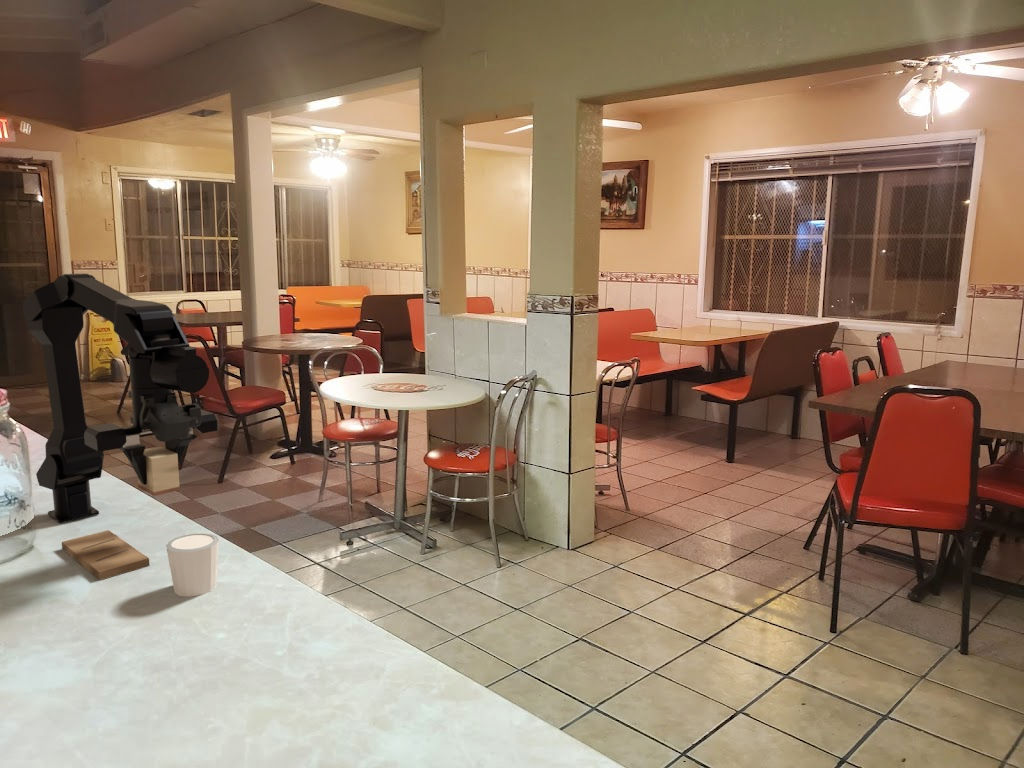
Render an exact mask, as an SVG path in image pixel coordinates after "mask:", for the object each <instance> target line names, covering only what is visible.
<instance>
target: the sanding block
mask: <svg viewBox="0 0 1024 768" xmlns="http://www.w3.org/2000/svg"><path fill="white" fill-rule="evenodd" d="M144 461H145V467H146V474H147V484H146V485H143V484H142V483H141V481H140V480H139V478H138V476H136V477H137V487H138V488H139V489H141V490H142V491H144V492H146V493H148V494H150V495H152V496H153V497H157V496H160V495H161V496H162V495H165V494H170V493H173V492H178V491H181V488H180V487H181V486H180V474H179V473H180V472H179V471H180V470H179V465H178V454H176V453H174V452H172V451H170V450H168V449H166V448H165V447H163V446H157V447H150V448H145V450H144Z"/></svg>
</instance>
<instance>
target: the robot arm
mask: <svg viewBox="0 0 1024 768" xmlns="http://www.w3.org/2000/svg"><path fill="white" fill-rule="evenodd" d="M88 311H89V312H90V311H91V312H93V313H94V314H96V315H98V316H100V317H101V318H103V319H105V320H107V321H109V322H111V324H113V325H112V326H113V332H114V333H115V334H117V335H118V336H119V338H121V339H122V340H124V341H125V343H127V344H126V345H125V346H124V347H123V348H121V350H120V354H121V355H122V356H128V364H129V377H130V380H129V381H130V390H128V391H127V392H128V398H129V399H131V403H132V404H131V405H132V415H131V416H130V417H129V418H130V423H131V424H132V425H131V426H125V427H121V426H119V425H117V424H115V423H112V422H110V423H103V424H96V425H92V426H91V425H90V426H88V424H87V420H86V419H87V418H86V413H85V406H84V398H83V397H84V396H83V392H82V383H81V376H80V368H79V360H78V359H79V358H78V354H77V347H76V345H77V344H76V343H77V341H78V338H79V337H80V334H81V332H82V331H83V329H84V323H85V322H84V315H85V314H86V313H87V312H88ZM22 313H23V317H24V318H25V320H26V324H27V328H28V331H29V332H30V334H32V336H33V337H35V339H36V340H37V342H39V343H40V344H41V347H42V353H43V361H44V366H45V367H44V368H45V377H46V381H47V388H48V397H49V402H50V410H51V416H52V423H53V424H52V425H53V428H52V431H51V433H50V435H49V437H48V439H47V441H46V442H45V458H44V460H43V462H42V464H41V465H40V466H39V468H38V470H37V472H36V474H35V475H36V479H37V483H38V485H39V486H40V487H43V488H46V489H49V490H51V491H52V499H53V500H52V501H53V510H49V511H47V515H48V516H49V517H50V518H52V519H53V520H55V521H56V522H58V523H59V524H63V523H67V522H71V521H74V520H75V521H76V520H79V519H83V518H84V519H85V518H87V517H92V516H97V515H100V511H99V510H97V509H96V508H95V507H93V506H92V499H91V489H90V481H91V480H94V479H99V478H102V474H103V473H102V472H103V464H104V458H105V454H104V452H105V451H112V450H117V449H118V450H120V451H121V452H123V454H124V455H125V456H126V458H127V459H128V461H129V463H130V465H131V467H132V469H133V471H134V472H135V474H136V475H137V476H138V478H139V480H140V481H141V483H142V484H143V485H146V484H147V474H146V467H145V461H144V450H145V449H146V445H144V444H143V443H141V438H144V437H148V436H155V439H156V440H157V441H158V442H162V443H164V444H165V445H164V446H165V447H164V448H165V449H168V450H170V451H172V452H174V453H176V454H178V466H179V465H180V463H181V462H180V461H181V459H182V456H183V453H184V451H185V449H186V447H187V446H188V444H189V443H191V442H192V441H194V440H196V439H197V437H198V435H196V434H194V429H195V430H196V431H198V432H199V433H201V434H206V433H212V432H218V431H219V430H220V422H219V421H220V420H219V419H218V418H219V417H218V416H217V415H216V414H215V413H214V412H210V411H208V410H205V409H202V408H201V406H200V405H199V404H198V402H195V403H189V404H185V405H179V403H178V400H177V399H178V398H177V395H176V392H182V393H188V394H196V393H198V392H200V391H201V390H203V389H204V387H205V386H206V385H207V383H208V381H209V377H210V368H209V367H208V365H207V362H206V361H205V359H203V357H202V356H199V355H198V354H197V348H196V347H194V346H190V343H189V342H188V339H187V338H188V336H187V335H186V334H185V332H184V331H183V329H182V328H181V326H180V324H179V322H178V320H177V318H176V317H175V315H174V313H173V310H172V309H171V308H170V306H168V305H167V304H165V303H160V302H157V301H156V302H155V301H153V300H152V301H151V300H143V299H141V300H140V299H135V298H133V297H130V296H129V295H126V294H124V293H122V292H120V291H119V290H117V289H114V288H113V287H111V286H109V285H107V284H105V283H103V282H102V281H99V280H98V279H96V278H95V276H94V275H93V274H89V273H64V274H61V275H58V276H57V277H56V278H55V279H54V280H53V281H52V282H49V283H48V284H45V285H44V286H42V287H39V288H37V289H35V290H34V291H32V293H30V294H29V295H28V296H27V298H26V299H25V300H24V301H23V303H22ZM175 391H176V392H175ZM137 476H136V477H137ZM138 478H137V479H138Z"/></svg>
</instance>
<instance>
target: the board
mask: <svg viewBox="0 0 1024 768" xmlns="http://www.w3.org/2000/svg"><path fill="white" fill-rule="evenodd" d="M61 548H62V550H63V551H64V550H65V551H66V552H65V551H64V552H65V553H67V554H68V555H69V554H70V555H71V556H72V558H73V559H74V560H75V559H76V560H77V561H76V560H75V561H76V562H77V563H79V564H80V565H81V564H82V565H83V566H82V565H81V566H82V567H83V568H85V569H86V570H88V571H89V572H90V574H92V575H94V577H96V578H97V579H99V580H100V581H102V580H105V579H108V578H111V577H115V576H118V575H119V576H120V575H121V574H125V573H129V572H133V571H136V570H138V569H143V568H146V567H149V566H150V558H149V557H148V556H147V555H145V554H144V553H142V552H141V551H139V550H138V549H136V548H135V547H134V546H132V545H130V543H127V542H126V541H125V540H124V539H122V538H120V537H119V536H118V535H117V534H114V533H113V532H112V531H110V530H109V529H108V530H103V531H99V532H95V533H92V534H87V535H83V536H80V537H76V538H72V539H68V540H64V541H61ZM70 555H69V556H70ZM71 556H70V557H71Z"/></svg>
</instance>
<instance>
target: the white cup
mask: <svg viewBox="0 0 1024 768" xmlns="http://www.w3.org/2000/svg"><path fill="white" fill-rule="evenodd" d="M219 542H220V540H219V537H218V536H217V535H215V534H212V533H206V532H205V533H204V532H201V533H199V532H196V533H188V534H182V535H180V536H177V537H174V538H173V539H171V540H169V541H168V542H167V543H166V545H165V547H166V552H167V558H168V563H169V568H170V575H171V580H172V585H173V591H174V592H175V593H174V594H175V595H178V596H180V597H198V596H202V595H205V594H207V593H210V592H212V591H214V590H215V589H216V587H217V585H218V569H219V568H218V564H219V544H220V543H219Z"/></svg>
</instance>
